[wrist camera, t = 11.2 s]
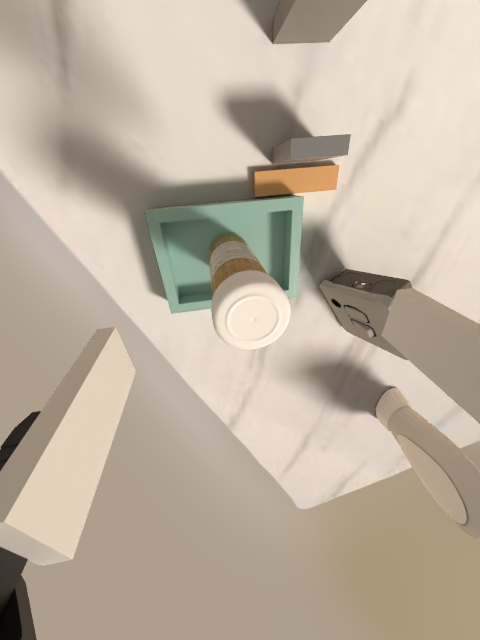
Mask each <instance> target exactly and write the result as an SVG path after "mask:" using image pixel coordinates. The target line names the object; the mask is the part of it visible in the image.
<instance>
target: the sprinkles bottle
mask: <svg viewBox="0 0 480 640" xmlns="http://www.w3.org/2000/svg"><path fill="white" fill-rule="evenodd" d="M208 259H209V263H210V277H211V289H212V293H213V298H212V302H211V311H212V320H213V325H214V328H215V330H216V332H217V334H218V336H219V337H220V338H221V339H222V340H223V341H224V342H226V343H227V344H229V345H231V346H233V347H236V348H239V349H257V348H261V347H264V346H266V345H268V344H270V343H272V342H273V341H275V340H276V339H277V338H278V337H279V336H280V335H281V334H282V333H283V332H284V330H285V329H286V327H287V325H288V323H289V319H290V313H291V309H290V303H289V300H288V298H287V296H286V294H285V293H284V291H283V290H282V288H281V287H280V285H279V284H278V283H277V282H276V281H275V280H274V279H273V278H272V277H271V276H269V275H268V274H267V273H266V271H265V269H264V268H263V266H262V265H261V264H260V261H259V259H258V258H257V257H256V255H255V254H254V253H253V251H252V250H251V249H250V248H249V245H248V244H247V242H246V241H245V240H244V239H243V238H241V237H240V236H237V235H235V234H225V235H221V236H219V237H218V238H216V239H215V240H214V241H213V242H212V244H211V246H210V248H209V252H208Z"/></svg>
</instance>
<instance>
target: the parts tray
mask: <svg viewBox="0 0 480 640" xmlns="http://www.w3.org/2000/svg"><path fill="white" fill-rule="evenodd" d="M303 201H304V197H303V196H296V195H291V196H281V197H270V198H259V199H248V200H237V201H227V202H216V203H205V204H194V205H183V206H173V207H162V208H151V209H148V210H146V211H144V214H145V217H146V221H147V225H148V229H149V232H150V236H151V240H152V243H153V247H154V251H155V255H156V258H157V262H158V266H159V270H160V273H161V277H162V281H163V284H164V288H165V292H166V296H167V299H168V303H169V307H170V311H171V314H173V313H180V312H188V311H195V310H203V309H211V302H212V298H213V293H212V289H211V277H210V263H209V259H208V252H209V248H210V246H211V244H212V242H213V241H214V240H215V239H216V238H218V237H219V236H221V235H225V234H235V235H237V236H240V237H241V238H243V239H244V240H245V241H246V242H247V244H248V245H249V248H250V249H251V250H252V251H253V253H254V254H255V255H256V257H257V258H258V259H259V261H260V264H261V265H262V266H263V268H264V269H265V271H266V273H267V274H268V275H269V276H271V277H272V278H273V279H274V280H275V281H276V282H277V283H278V284H279V285H280V287H281V288H282V290H283V291H284V293H285V294H286V296H287V298H294V297H297V290H298V275H299V260H300V245H301V231H302V216H303Z"/></svg>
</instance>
